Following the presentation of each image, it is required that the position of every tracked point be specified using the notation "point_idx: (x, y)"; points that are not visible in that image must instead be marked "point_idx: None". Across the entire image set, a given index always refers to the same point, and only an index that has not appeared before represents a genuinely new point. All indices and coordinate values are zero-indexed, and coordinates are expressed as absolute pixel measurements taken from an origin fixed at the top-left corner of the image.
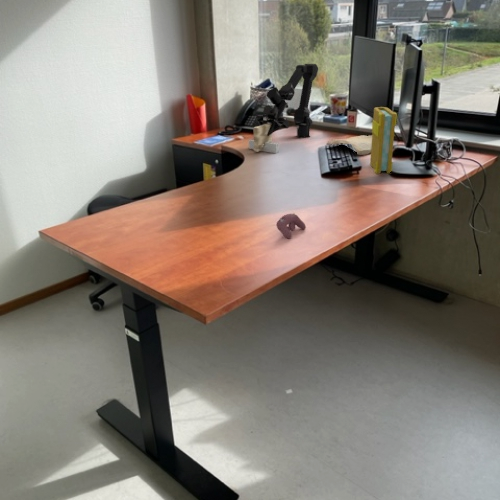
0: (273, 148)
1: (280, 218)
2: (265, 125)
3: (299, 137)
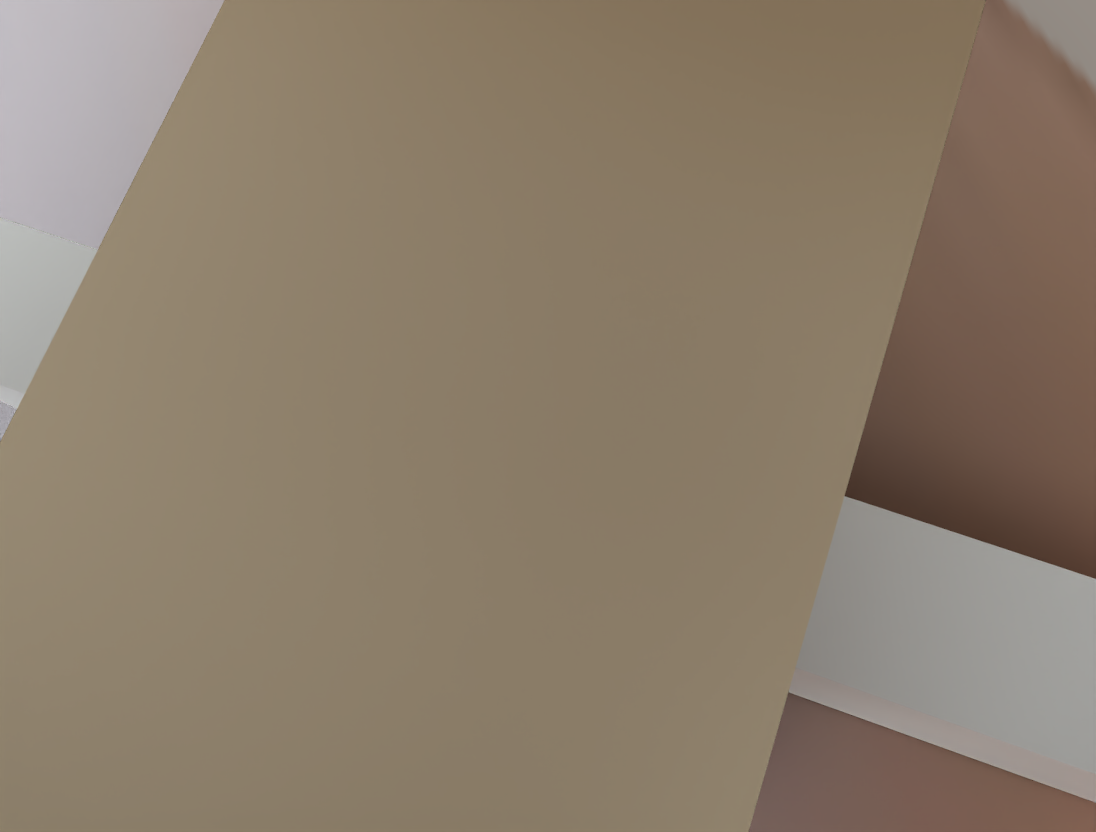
0: None
1: None
2: (167, 152)
3: None
